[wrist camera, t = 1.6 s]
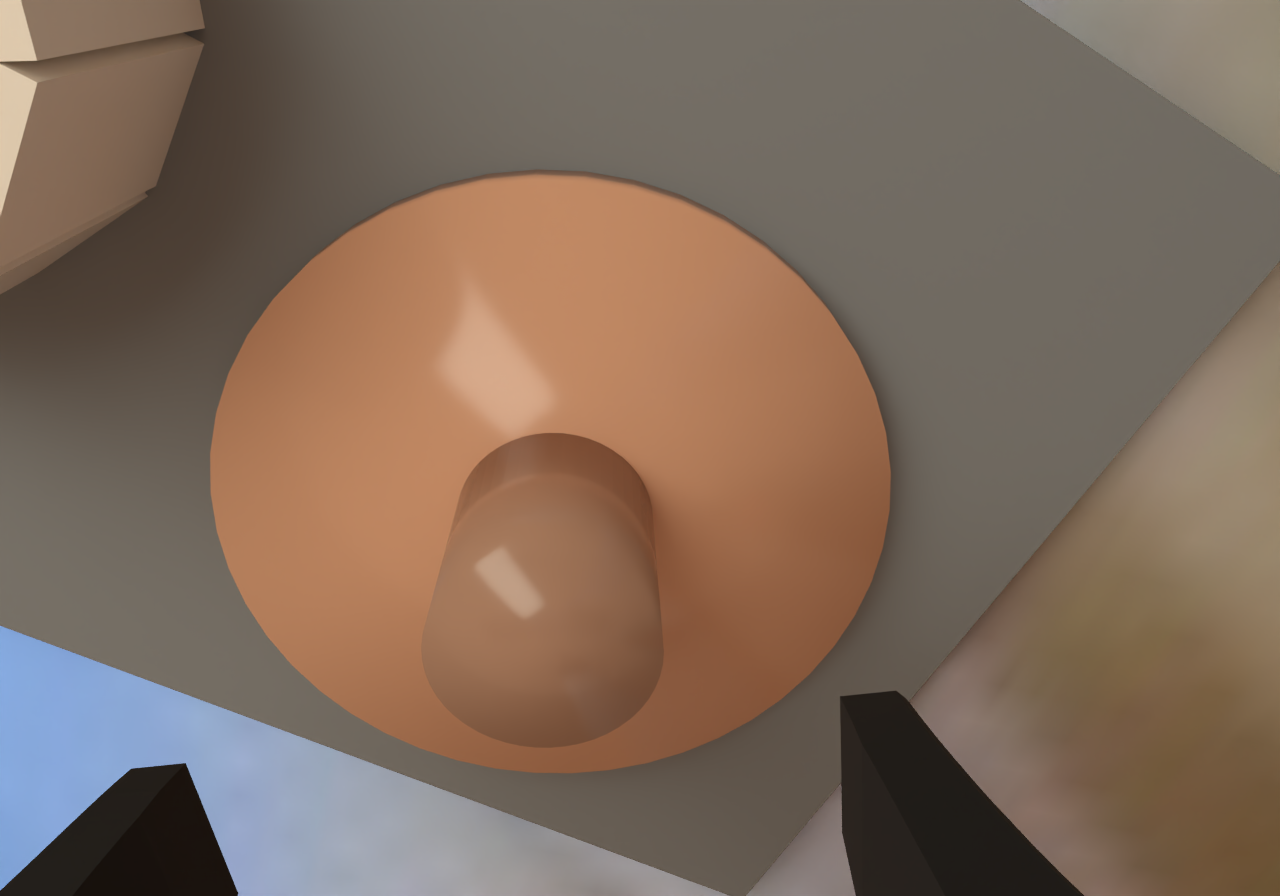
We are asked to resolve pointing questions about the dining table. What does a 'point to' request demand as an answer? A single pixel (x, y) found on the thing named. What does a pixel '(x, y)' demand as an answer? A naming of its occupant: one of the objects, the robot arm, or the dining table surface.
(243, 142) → the mat
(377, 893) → the dining table surface
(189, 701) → the dining table surface
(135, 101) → the bowl
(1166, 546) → the dining table surface
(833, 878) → the dining table surface
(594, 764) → the lid
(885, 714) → the robot arm
